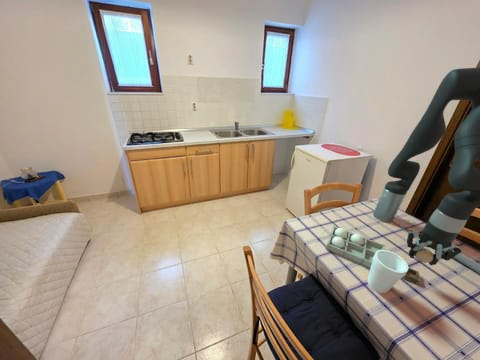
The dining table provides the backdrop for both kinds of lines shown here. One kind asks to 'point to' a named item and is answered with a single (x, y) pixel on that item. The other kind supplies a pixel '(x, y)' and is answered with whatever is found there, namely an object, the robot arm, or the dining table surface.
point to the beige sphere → (424, 255)
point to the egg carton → (356, 249)
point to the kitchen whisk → (457, 256)
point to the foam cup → (386, 270)
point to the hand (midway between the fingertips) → (420, 259)
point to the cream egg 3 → (357, 239)
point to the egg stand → (412, 276)
